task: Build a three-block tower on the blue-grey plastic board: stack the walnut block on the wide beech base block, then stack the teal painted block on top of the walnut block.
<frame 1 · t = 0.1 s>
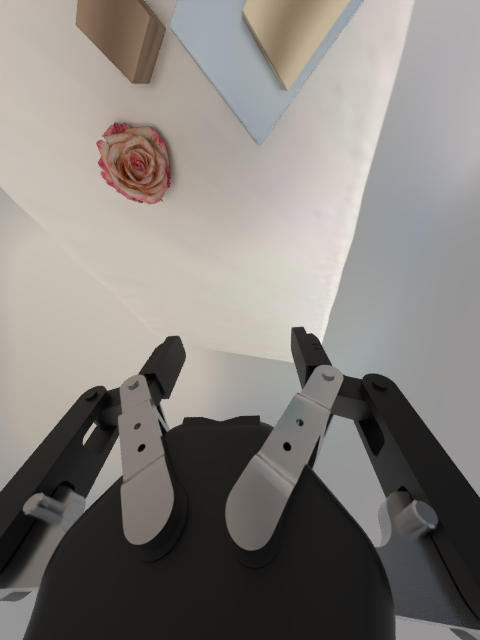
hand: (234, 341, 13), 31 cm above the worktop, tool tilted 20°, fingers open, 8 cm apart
block walnut: (135, 32, 20), on the worktop
base block: (289, 13, 19), point 1 cm above the worktop, touching board
flower: (147, 157, 29), on the worktop
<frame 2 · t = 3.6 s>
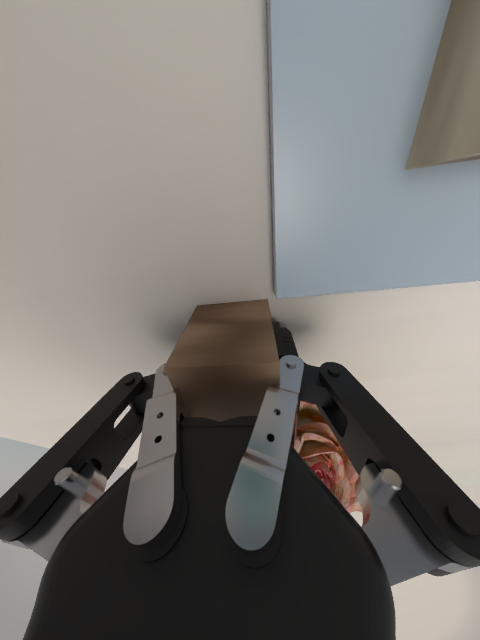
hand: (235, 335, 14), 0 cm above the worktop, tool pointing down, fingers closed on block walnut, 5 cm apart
block walnut: (236, 331, 14), on the worktop, touching gripper
board: (457, 49, 7), on the worktop
flower: (296, 404, 19), on the worktop
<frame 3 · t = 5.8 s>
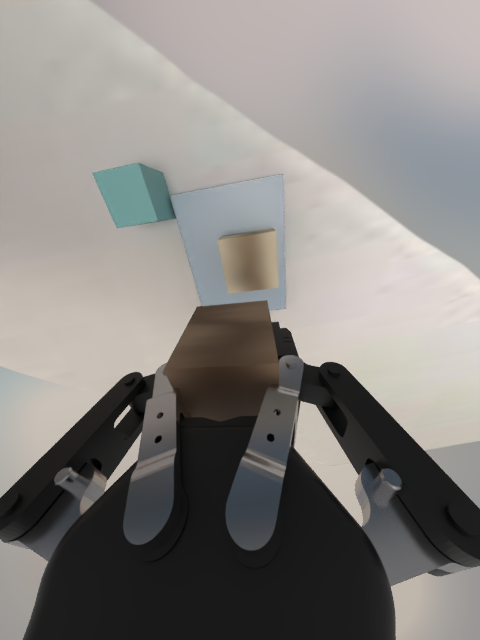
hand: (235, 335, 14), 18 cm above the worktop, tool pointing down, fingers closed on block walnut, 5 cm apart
block walnut: (236, 332, 14), point 17 cm above the worktop, touching gripper
base block: (249, 258, 27), point 1 cm above the worktop, touching board
block teal: (152, 200, 24), on the worktop
board: (236, 258, 28), on the worktop
when the fingers open (6 cm above the worktop, at t = 8.5 s): block walnut stays where it is, resting on base block.
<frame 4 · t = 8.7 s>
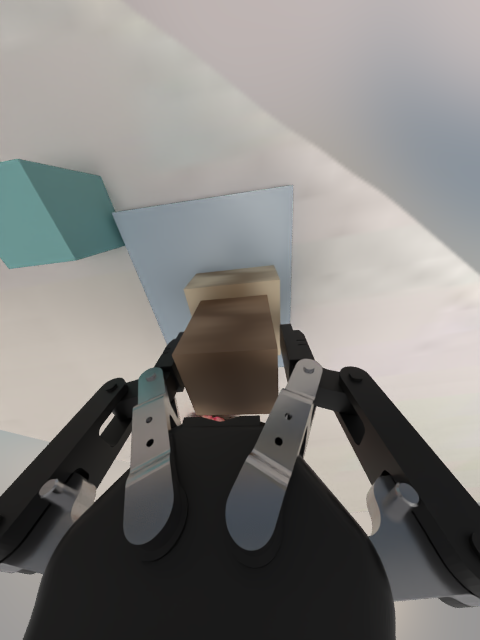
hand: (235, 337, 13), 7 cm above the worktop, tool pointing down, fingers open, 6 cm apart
block walnut: (237, 325, 15), point 5 cm above the worktop, touching base block
base block: (239, 304, 18), point 1 cm above the worktop, touching block walnut, board
block teal: (89, 217, 16), on the worktop
board: (220, 300, 19), on the worktop
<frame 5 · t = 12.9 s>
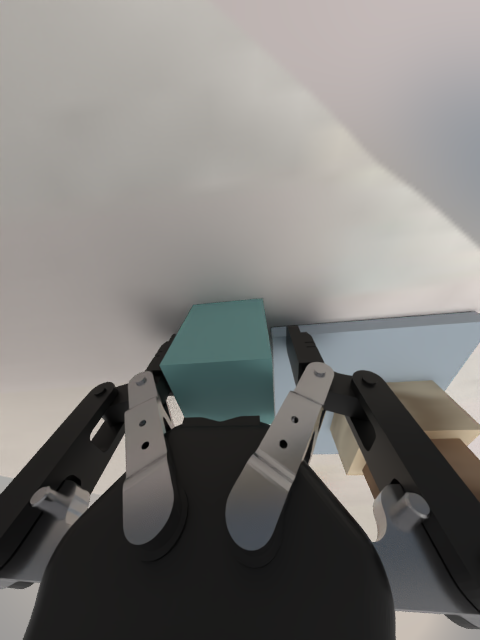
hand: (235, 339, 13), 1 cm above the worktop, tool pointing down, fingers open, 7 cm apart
block walnut: (405, 456, 14), point 5 cm above the worktop, touching base block
base block: (374, 408, 17), point 1 cm above the worktop, touching block walnut, board
block teal: (232, 330, 14), on the worktop
board: (345, 397, 18), on the worktop
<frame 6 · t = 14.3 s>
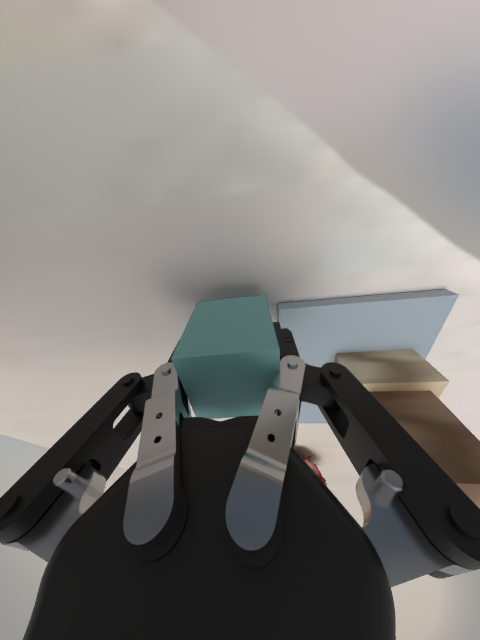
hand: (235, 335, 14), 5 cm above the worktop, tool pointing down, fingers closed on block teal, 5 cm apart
block walnut: (388, 409, 16), point 5 cm above the worktop, touching base block
base block: (365, 376, 20), point 1 cm above the worktop, touching block walnut, board
block teal: (235, 326, 15), point 4 cm above the worktop, touching gripper
board: (341, 368, 21), on the worktop
when the fingers open (12 cm above the worktop, at t = 18.8 s): block teal stays where it is, resting on block walnut.
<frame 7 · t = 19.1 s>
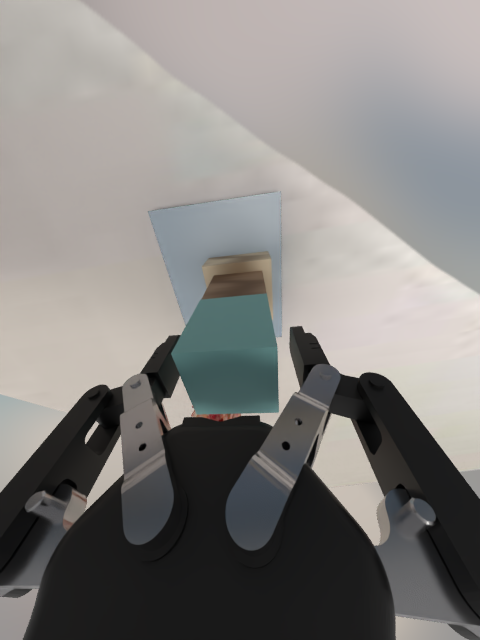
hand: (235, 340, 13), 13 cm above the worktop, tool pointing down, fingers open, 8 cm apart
block walnut: (240, 295, 20), point 5 cm above the worktop, touching base block, block teal
base block: (241, 283, 23), point 1 cm above the worktop, touching block walnut, board
block teal: (237, 324, 15), point 11 cm above the worktop, touching block walnut
board: (226, 281, 24), on the worktop
flower: (220, 388, 37), on the worktop
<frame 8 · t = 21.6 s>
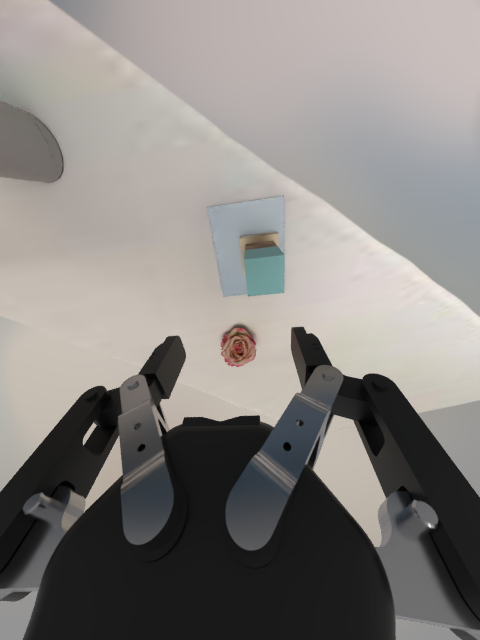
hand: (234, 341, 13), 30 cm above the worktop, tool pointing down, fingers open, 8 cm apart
block walnut: (260, 256, 34), point 5 cm above the worktop, touching base block, block teal
base block: (259, 252, 37), point 1 cm above the worktop, touching block walnut, board
block teal: (262, 264, 29), point 11 cm above the worktop, touching block walnut
board: (249, 252, 39), on the worktop
flower: (239, 336, 51), on the worktop
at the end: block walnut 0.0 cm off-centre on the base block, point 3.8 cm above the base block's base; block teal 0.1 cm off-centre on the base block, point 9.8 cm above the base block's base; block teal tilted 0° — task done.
